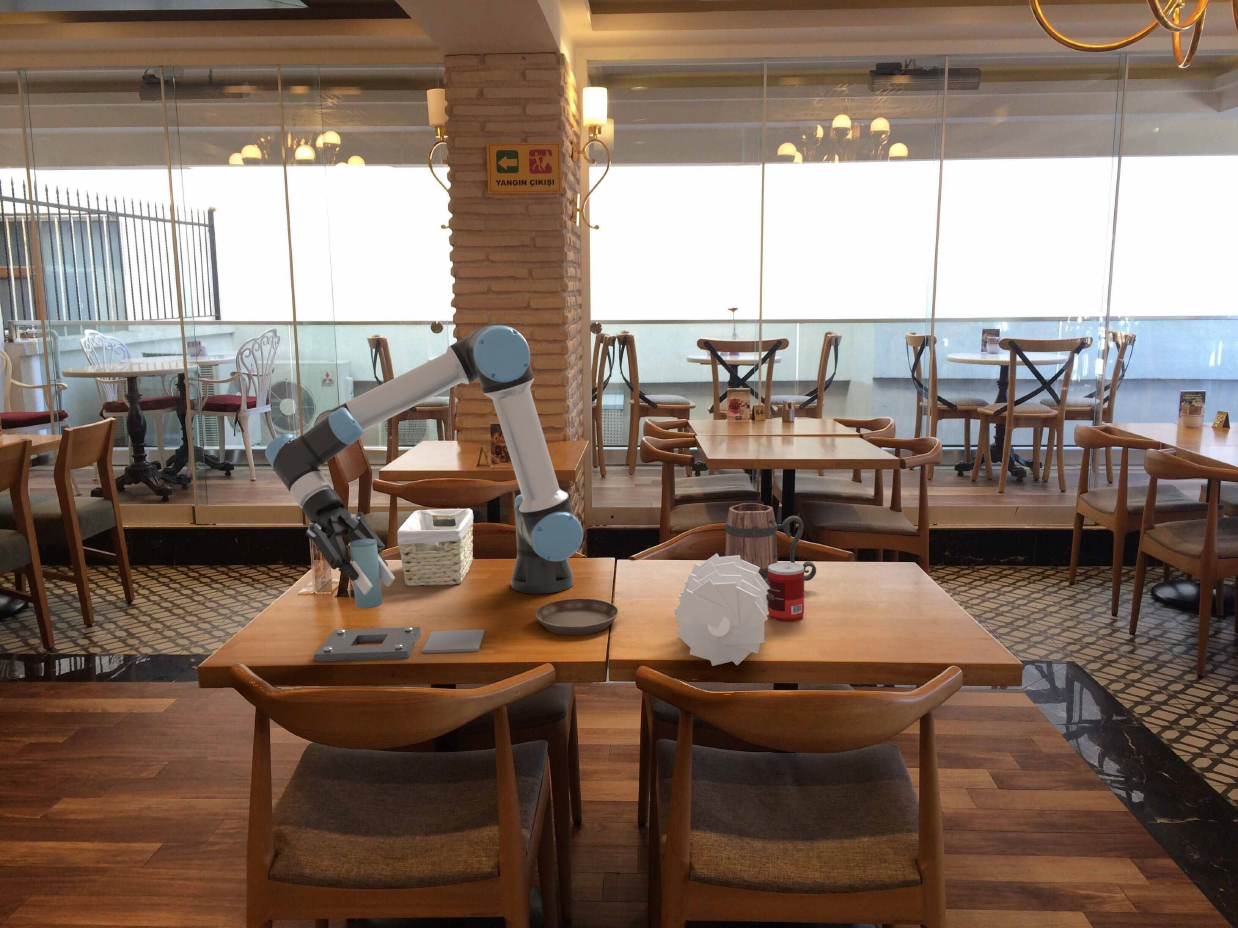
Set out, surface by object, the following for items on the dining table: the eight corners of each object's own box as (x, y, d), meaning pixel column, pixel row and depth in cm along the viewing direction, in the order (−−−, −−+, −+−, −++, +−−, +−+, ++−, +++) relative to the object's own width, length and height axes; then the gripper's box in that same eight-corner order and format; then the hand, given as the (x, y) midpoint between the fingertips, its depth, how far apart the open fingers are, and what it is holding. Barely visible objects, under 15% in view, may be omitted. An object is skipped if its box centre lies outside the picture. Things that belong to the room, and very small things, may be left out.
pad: (484, 632, 198) (484, 629, 198) (478, 651, 187) (478, 648, 187) (432, 633, 198) (431, 631, 198) (422, 653, 187) (422, 650, 187)
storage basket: (464, 586, 231) (460, 528, 229) (397, 588, 231) (393, 530, 228) (477, 560, 255) (474, 507, 252) (417, 562, 255) (414, 509, 252)
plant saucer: (625, 635, 195) (624, 621, 194) (539, 642, 192) (539, 627, 191) (611, 608, 212) (611, 595, 211) (533, 614, 209) (532, 601, 209)
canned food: (806, 611, 205) (806, 562, 204) (801, 623, 198) (801, 573, 196) (771, 608, 208) (771, 560, 206) (764, 620, 200) (764, 570, 199)
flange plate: (420, 633, 198) (419, 624, 198) (407, 658, 184) (407, 648, 184) (334, 636, 198) (333, 627, 197) (315, 661, 184) (314, 651, 184)
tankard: (717, 601, 214) (716, 516, 211) (713, 580, 231) (712, 500, 227) (821, 600, 213) (822, 514, 209) (810, 579, 229) (810, 498, 226)
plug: (384, 599, 192) (379, 538, 190) (379, 607, 187) (373, 544, 185) (359, 600, 192) (353, 539, 190) (352, 609, 187) (346, 546, 185)
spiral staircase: (746, 647, 196) (743, 689, 172) (670, 609, 198) (656, 646, 173) (785, 570, 193) (787, 602, 169) (707, 533, 195) (697, 559, 170)
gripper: (345, 501, 203) (405, 584, 196) (273, 519, 188) (335, 610, 182) (359, 479, 199) (421, 563, 193) (287, 495, 184) (352, 587, 178)
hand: (379, 586), depth 187 cm, fingers closed on plug, 5 cm apart
